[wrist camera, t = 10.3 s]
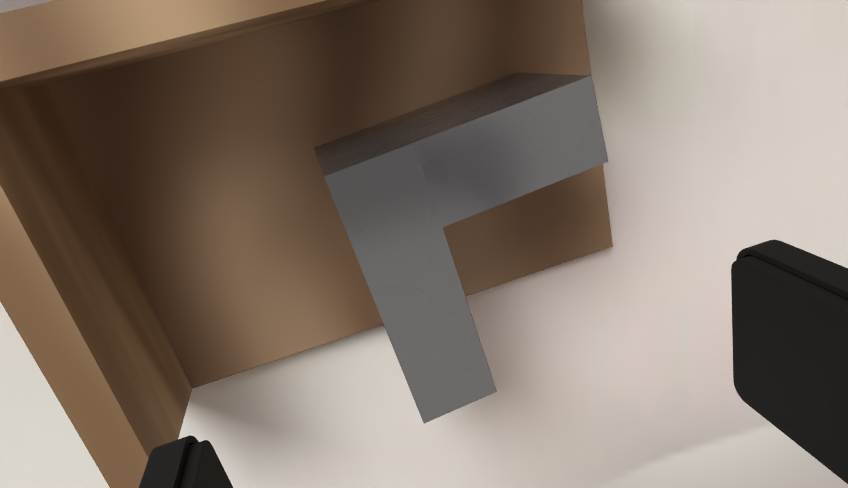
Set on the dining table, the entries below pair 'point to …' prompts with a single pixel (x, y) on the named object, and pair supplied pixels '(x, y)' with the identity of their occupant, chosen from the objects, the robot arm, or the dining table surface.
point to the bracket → (451, 209)
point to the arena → (233, 185)
